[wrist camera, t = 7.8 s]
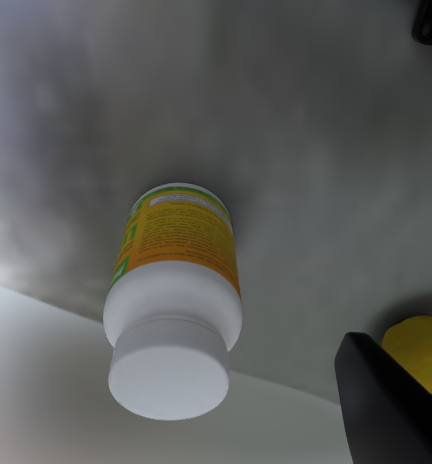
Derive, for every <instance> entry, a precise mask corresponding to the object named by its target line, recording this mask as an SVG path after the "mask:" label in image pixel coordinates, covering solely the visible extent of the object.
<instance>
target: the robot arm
mask: <svg viewBox="0 0 432 464" xmlns="http://www.w3.org/2000/svg"><path fill="white" fill-rule="evenodd" d="M427 24H430V25H431V30H430V32H429V33H428V34H427V35H426V36H423V34H422V33H423V29H424V27H425V26H426V25H427ZM412 36H413V39H414V40H415V41H417V42H419V43H422V44H426V45H432V0H422V1H421V4H420V7H419V10H418V13H417V16H416V19H415V22H414V25H413V28H412ZM335 372H336V379H337V385H338V391H339V397H340V403H341V409H342V414H343V421H344V426H345V432H346V437H347V441H348V444H349V449H350V453H351V456H352V460H353V464H432V394H431V393H430V392H429V391H428V390H427V389H425V388H424V387H423V386H422V385H421V384H420V383H419V382H418V381H417V380H416V379H415V378H414V377H413V376H412V375H411V374H410V373H408V372H407V371H406V370H405V369H404V368H403V367H402V366H401V365H400V364H399V363H398V362H397V361H396V360H395V359H394V358H393V357H392V356H390V355H389V354H388V353H387V352H386V351H385V350H384V349H383V348H382V347H381V346H380V345H379V344H378V343H377V342H376V341H375V340H373V339H372V338H371V337H370V336H369V335H368V334H366V333H359V332H348V333H347V334H345V336H344V338H343V340H342V343H341V345H340V347H339V349H338V352H337V354H336V357H335Z"/></svg>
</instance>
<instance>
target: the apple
mask: <svg viewBox="0 0 432 464" xmlns="http://www.w3.org/2000/svg"><path fill="white" fill-rule="evenodd" d="M381 347H382V348H383V349H384V350H385V351H386V352H387V353H388V354H389V355H390V356H392V357H393V358H394V359H395V360H396V361H397V362H398V363H399V364H400V365H401V366H402V367H403V368H404V369H405V370H406V371H407V372H408V373H410V374H411V375H412V376H413V377H414V378H415V379H416V380H417V381H418V382H419V383H420V384H421V385H422V386H423V387H424V388H425V389H427V390H428V391H429V392H430V393H431V394H432V316H428V315H421V316H415V317H412V318H408V319H406V320H404V321H402V322H401V323H399V324H397V325H394V326H392V327H391V328H389V329H388V330H387V331H386V333H385V335H384V338H383V341H382V345H381Z"/></svg>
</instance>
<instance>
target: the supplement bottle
mask: <svg viewBox="0 0 432 464" xmlns="http://www.w3.org/2000/svg"><path fill="white" fill-rule="evenodd" d="M103 324H104V329H105V333H106V335H107V338H108V340H109V342H110V343H111V345H112V346H113V347H114V352H113V356H112V361H111V366H110V371H109V378H108V383H109V388H110V391H111V393H112V395H113V396H114V397H115V399H116V400H117V401H118V402H119V403H120V404H121V405H122V406H123V407H125V408H126V409H128V410H130V411H132V412H133V413H136V414H138V415H141V416H144V417H147V418H152V419H159V420H181V419H188V418H193V417H196V416H199V415H202V414H204V413H207V412H208V411H210V410H212V409H213V408H215V407H216V406H217V405H219V403H220V402H221V401H222V400H223V399H224V397H225V396H226V394H227V391H228V388H229V355H228V352H229V351H230V350H231V349H232V347H233V346H234V344H235V343H236V341H237V339H238V337H239V334H240V331H241V327H242V305H241V296H240V288H239V280H238V271H237V263H236V254H235V245H234V236H233V229H232V222H231V218H230V215H229V213H228V211H227V209H226V207H225V206H224V204H223V203H222V202H221V200H220V199H219V198H218V197H217V196H215V195H214V194H213V193H212V192H210V191H208V190H207V189H205V188H202V187H200V186H197V185H193V184H188V183H169V184H164V185H161V186H158V187H155V188H153V189H151V190H149V191H148V192H146V193H145V194H144V195H142V196H141V197H140V198H139V199H138V201H137V202H136V203H135V205H134V206H133V208H132V210H131V212H130V215H129V218H128V221H127V225H126V229H125V233H124V236H123V240H122V243H121V248H120V251H119V255H118V259H117V262H116V266H115V269H114V273H113V277H112V280H111V284H110V288H109V291H108V294H107V298H106V302H105V307H104V312H103Z"/></svg>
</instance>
